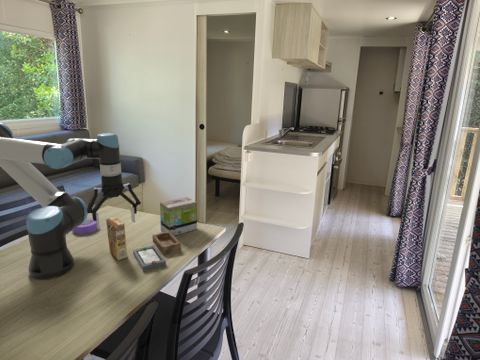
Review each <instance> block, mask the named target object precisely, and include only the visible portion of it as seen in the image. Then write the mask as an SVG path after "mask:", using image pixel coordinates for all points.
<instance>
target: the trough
mask: <svg viewBox="0 0 480 360" xmlns="http://www.w3.org/2000/svg"><path fill="white" fill-rule="evenodd" d="M152 243H153V244H154V246H155V247H156V248H157V250H158V251H159V252H160V254H161V255H162V256H164V255H168V254H171V253H176V252H180V250H182V249H181V242H180V241H179V240H178V239H177V238H176V237H175V236H173V234H172V233H171V232H170V231H168V232H163V231H162V232H159V233H156V234H155V233H154V234H152Z"/></svg>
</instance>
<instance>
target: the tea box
mask: <svg viewBox="0 0 480 360" xmlns="http://www.w3.org/2000/svg"><path fill="white" fill-rule="evenodd" d="M159 208H160V209H159V213H160V215H159V217H160V231H162V233H163V232H168V231H170V232H171V233H172V234H173V236H174V237H175V236H178V235H181V234H186V233H188V231H189V232H193V231H196V230H197V229H198V202H197V201H195V200H193V199H191V198H190V197H188V196H185V197H181V198H180V197H179V198H177V199H176V198H175V199H172V200H165V201H160V202H159ZM195 229H196V230H195ZM192 230H193V231H192Z"/></svg>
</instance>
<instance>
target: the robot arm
mask: <svg viewBox="0 0 480 360" xmlns="http://www.w3.org/2000/svg"><path fill="white" fill-rule="evenodd" d="M13 135H14V134H13V131H12V130H11V129H10V127H9V126H7V124H5V123H3V122H0V167H1V169H2V170H4V171H5V172H6V173H7V174H8V175H9V176H10V177H11V178H12V179H13V180H14V181H15V182H16V183H17V184H18V185H19V186H20V187H21V188H22V189H23V190H24V191H25V192H27V193H28V195H30V196H31V198H33V199H34V200H35V201H36V202H37V203H38V204H39V205H40V206H41V208H36V209H34V210H33V211H30V213H29V214H27V217H26V220H25V221H26V222H25V223H26V227H25V228H26V231H27V234H28V235H27V236H28V241H29V247H30V251H31V255H30V261H29V265H28V274H29V276H30V277H31V278H32V279H34V280H41V281H42V280H50V279H55V278H59V277H62V276H63V275H65V274H68V273H69V272H71V270H73V268H74V267H75V259H74V256H73V255H72V254H71V252H70V251H71V250H70V249H69V248H68V245H67V239H66V236H67V234H69V233H70V232H72V230H73V229H75V228H76V227H78V226H80V225H81V224H82V222H84V221H85V219H86V218H88V214H91V215H92V217H91V218H93V221H96V225H97V230H100V229H101V225H100V219H99V218H100V217H99V213H98V211H99V209H100V208H101V206H102V205H103V203H105V201H106V200H107V199H108V198H109V199H112V198H118V197H119V196H120V197H122V198H123V199H124V200H126V201H127V202H128V203H130V214H131V215H130V217H131V218H130V219H131V222H132V223H136V214H137V213H138V211H137V210H138V209H137V207H138V206H139V205H141V201H140V199H139V198H138V197H137V196H138V195H136V193H135V192H134V189H133V188H132V185H131V184H130V182H127V183H125V184H124V183H123V175H122V165H121V164H122V163H121V154H120V143H119V136H118V135H117V134H116V133H109V132H108V133H107V132H106V133H105V132H104V133H99V134H97V135H96V138H80V137H76V138H69V139H67V140H66V142H64V143H52V142H47V141H38V140H28V139H20V138H15V137H14V136H13ZM86 159H87V160H88V159H92V160H93V159H95V160H98V161H99V168H100V170H99V171H100V174H101V175H100V179H101V187H95V186H94V187H93V191H92V192H93V193H92V195H91V198H90V201H89V203H88V205H87V204H86V202H85V201H84V200H83V199H82V198H80V197H77V196H71V195H70V194H69V193H68V192H67V191H61V190H59V189H58V188H57V187H56V186H55V185H54V184H53V183H52V182H51V181H50V180H49V179H48V178H47V177H46V176H45V175H44V174H43V173H42V172H41V171H40V170H39V169H37V167H36V166H34V165H33V164H42V165H47V166H48V167H49V168H51V169H54V170H59V169H64V168H65V169H66V168H68V166H71V165H73V164H75V163H79V162H81V161H84V160H86ZM32 163H33V164H32ZM124 189H126V190H128V192H129V193H130V195H131V196H132V197H133V199H134V200H132V199H131V198H130V197H128V196H127V195H126V193H124V192H123V190H124ZM101 192H102V193H103V194H102V195H101V197H100V198H99V199H98V201H97V198H98V195H99V194H100V193H101ZM96 201H97V202H96ZM95 203H96V204H95Z"/></svg>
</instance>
